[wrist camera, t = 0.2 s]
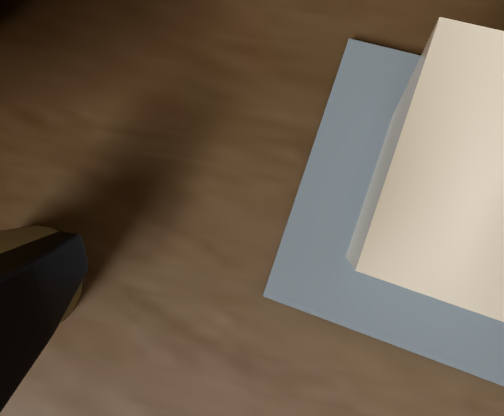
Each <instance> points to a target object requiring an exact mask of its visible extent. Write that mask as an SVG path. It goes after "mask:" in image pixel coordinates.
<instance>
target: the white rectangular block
mask: <svg viewBox="0 0 504 416" xmlns="http://www.w3.org/2000/svg"><path fill="white" fill-rule="evenodd" d="M346 258H347V259H348V261H349V262H350V264H351V265H352V267H353V268H354V270H355V271H357V272H360V273H363V274H366V275H369V276H372V277H375V278H378V279H381V280H383V281H386V282H389V283H392V284H395V285H398V286H401V287H404V288H407V289H409V290H412V291H415V292H418V293H421V294H424V295H427V296H430V297H433V298H435V299H438V300H441V301H444V302H447V303H450V304H453V305H456V306H459V307H461V308H464V309H467V310H470V311H473V312H476V313H479V314H482V315H485V316H487V317H490V318H493V319H496V320H499V321H502V322H504V31H501V30H496V29H492V28H487V27H483V26H478V25H474V24H469V23H465V22H460V21H456V20H451V19H447V18H442V17H439V19H438V21H437V23H436V26H435V28H434V30H433V32H432V34H431V36H430V38H429V40H428V42H427V44H426V47H425V49H424V51H423V53H422V55H421V57H420V59H419V61H418V63H417V65H416V68H415V70H414V72H413V74H412V76H411V78H410V80H409V82H408V84H407V86H406V89H405V91H404V93H403V95H402V97H401V99H400V101H399V103H398V105H397V108H396V110H395V112H394V114H393V116H392V119H391V122H390V125H389V128H388V131H387V134H386V137H385V140H384V143H383V146H382V149H381V152H380V155H379V158H378V161H377V164H376V167H375V170H374V173H373V176H372V179H371V182H370V185H369V188H368V191H367V194H366V197H365V200H364V203H363V206H362V209H361V212H360V215H359V218H358V221H357V224H356V227H355V230H354V233H353V236H352V239H351V242H350V245H349V248H348V251H347V254H346Z"/></svg>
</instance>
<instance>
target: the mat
mask: <svg viewBox="0 0 504 416" xmlns="http://www.w3.org/2000/svg"><path fill="white" fill-rule="evenodd" d="M420 57H421V56H420V55H416V54H412V53H407V52H403V51H399V50H395V49H391V48H387V47H383V46H378V45H374V44H370V43H366V42H362V41H358V40H353V39H349V40H348V43H347V46H346V49H345V52H344V55H343V58H342V61H341V64H340V67H339V70H338V73H337V76H336V79H335V82H334V85H333V88H332V91H331V94H330V97H329V100H328V103H327V106H326V109H325V112H324V115H323V118H322V121H321V124H320V127H319V130H318V133H317V136H316V139H315V142H314V145H313V148H312V151H311V154H310V157H309V160H308V163H307V166H306V169H305V172H304V175H303V178H302V181H301V184H300V187H299V190H298V193H297V196H296V199H295V202H294V204H293V207H292V210H291V213H290V216H289V219H288V222H287V225H286V228H285V231H284V234H283V237H282V240H281V243H280V246H279V249H278V252H277V255H276V258H275V261H274V264H273V267H272V270H271V273H270V276H269V279H268V282H267V285H266V288H265V291H264V294H263V296H264V297H266V298H269V299H272V300H274V301H277V302H280V303H282V304H285V305H288V306H290V307H293V308H296V309H298V310H301V311H304V312H307V313H309V314H312V315H315V316H317V317H320V318H323V319H325V320H328V321H331V322H333V323H336V324H339V325H341V326H344V327H347V328H349V329H352V330H355V331H357V332H360V333H363V334H365V335H368V336H371V337H373V338H376V339H379V340H381V341H384V342H387V343H389V344H392V345H395V346H397V347H400V348H403V349H406V350H408V351H411V352H414V353H416V354H419V355H422V356H424V357H427V358H430V359H432V360H435V361H438V362H440V363H443V364H446V365H448V366H451V367H454V368H456V369H459V370H462V371H464V372H467V373H470V374H472V375H475V376H478V377H480V378H483V379H486V380H488V381H491V382H494V383H496V384H499V385H502V386H504V322H502V321H499V320H496V319H493V318H490V317H487V316H485V315H482V314H479V313H476V312H473V311H470V310H467V309H464V308H461V307H459V306H456V305H453V304H450V303H447V302H444V301H441V300H438V299H435V298H433V297H430V296H427V295H424V294H421V293H418V292H415V291H412V290H409V289H407V288H404V287H401V286H398V285H395V284H392V283H389V282H386V281H383V280H381V279H378V278H375V277H372V276H369V275H366V274H363V273H360V272H357V271H355V270H354V268H353V267H352V265H351V264H350V262H349V261H348V259H347V258H346V254H347V251H348V248H349V245H350V242H351V239H352V236H353V233H354V230H355V227H356V224H357V221H358V218H359V215H360V212H361V209H362V206H363V203H364V200H365V197H366V194H367V191H368V188H369V185H370V182H371V179H372V176H373V173H374V170H375V167H376V164H377V161H378V158H379V155H380V152H381V149H382V146H383V143H384V140H385V137H386V134H387V131H388V128H389V125H390V122H391V119H392V116H393V114H394V112H395V110H396V108H397V105H398V103H399V101H400V99H401V97H402V95H403V93H404V91H405V89H406V86H407V84H408V82H409V80H410V78H411V76H412V74H413V72H414V70H415V68H416V65H417V63H418V61H419V59H420Z"/></svg>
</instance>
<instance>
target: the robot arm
mask: <svg viewBox="0 0 504 416" xmlns="http://www.w3.org/2000/svg"><path fill="white" fill-rule="evenodd" d="M87 269H88V261H87V257H86V252H85V247H84V243H83V239H82V237H81V235H80V234H78V233H75V232H69V231H58V232H55V233H53V234H50V235H47V236H45V237H42V238H40V239H37V240H34V241H32V242H29V243H27V244H24V245H21V246H19V247H16V248H13V249H11V250H8V251H6V252H3V253H0V412H1V411H2V409H3V408H4V406H5V405H6V403H7V402H8V400H9V399H10V398H11V396H12V395H13V393H14V392H15V390H16V389H17V387H18V386H19V384H20V383H21V381H22V380H23V378H24V377H25V376H26V374H27V373H28V371H29V370H30V368H31V367H32V365H33V364H34V362H35V361H36V359H37V358H38V356H39V355H40V354H41V352H42V351H43V349H44V348H45V346H46V345H47V343H48V342H49V340H50V339H51V337H52V335H53V334H54V332H55V330H56V329H57V327H58V325H59V324H60V322H61V320H62V318H63V316H64V314H65V312H66V311H67V309H68V307H69V305H70V303H71V301H72V300H73V298H74V296H75V294H76V292H77V290H78V288H79V287H80V285H81V283H82V281H83V279H84V277H85V275H86V273H87Z"/></svg>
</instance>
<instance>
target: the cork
mask: <svg viewBox="0 0 504 416" xmlns="http://www.w3.org/2000/svg"><path fill="white" fill-rule="evenodd" d="M55 232H58V231H57V230H55V229H53V228H51V227H44V226H38V225H37V226H30V227H23V228H16V229H9V230H3V231H0V253H3V252H6V251H8V250H11V249H13V248H16V247H19V246H21V245H24V244H27V243H29V242H32V241H34V240H37V239H40V238H42V237H45V236H47V235H50V234H53V233H55ZM82 286H83V281H82V283H81V285H80V287H79V288H78V290H77V292H76V294H75V296H74V298H73V300H72V301H71V303H70V305H69V307H68V309H67V311H66V312H65V314H64V316H63V318H62V320H61V322H62V321H64V320H65V318H66V317H67V316H68V315H69V314H70V313H71V312H72V311H73V310H74V308H75V306H76V304H77V302H78V300H79V298H80V296H81V292H82Z"/></svg>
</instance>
